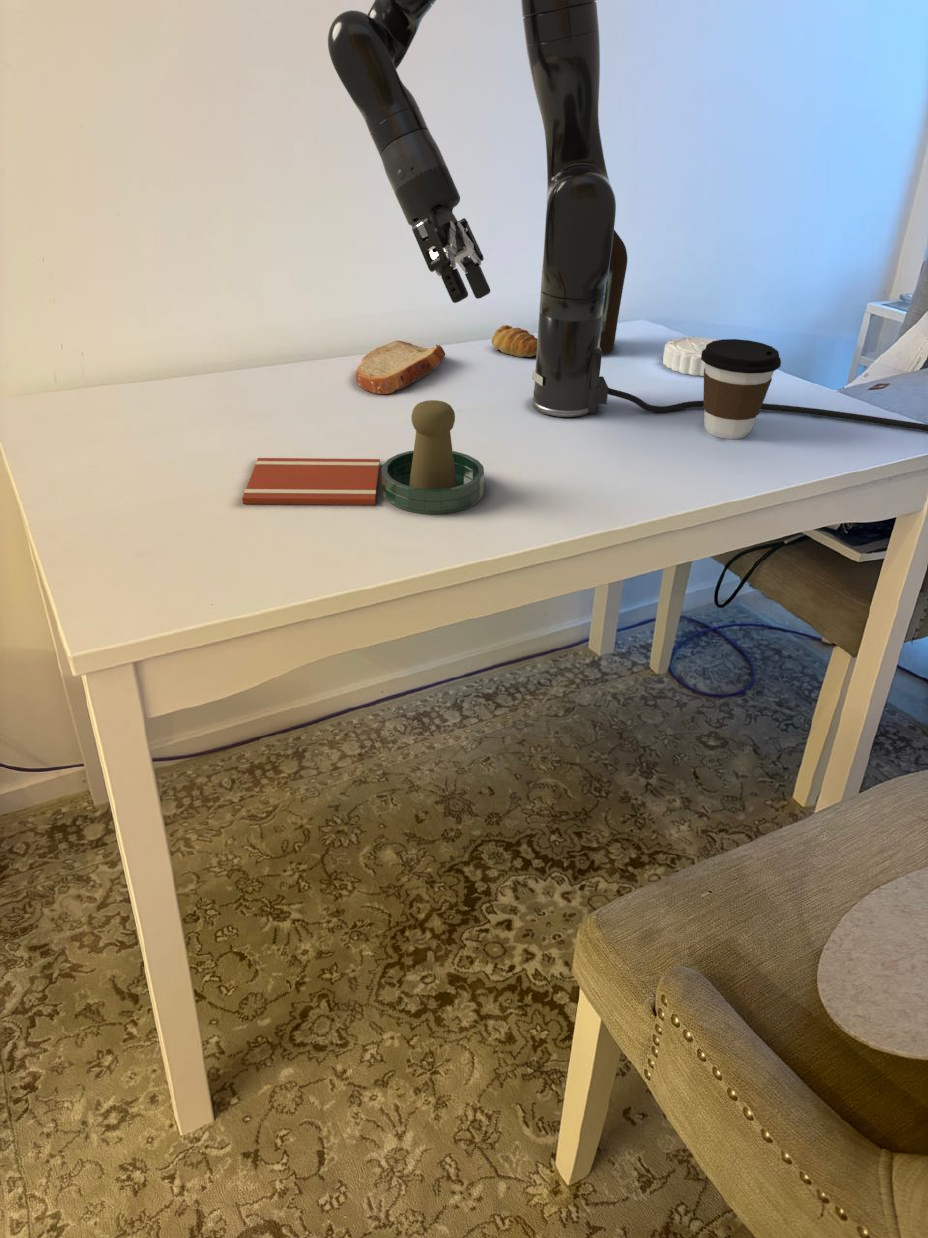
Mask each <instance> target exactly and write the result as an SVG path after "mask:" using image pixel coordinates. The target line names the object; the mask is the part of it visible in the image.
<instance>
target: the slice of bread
mask: <svg viewBox="0 0 928 1238" xmlns="http://www.w3.org/2000/svg"><path fill="white" fill-rule="evenodd" d="M445 357H446V352H445V350H444V348H443V347H442V346H441V344H435V346H433V347H423V346H418V345H416V344H412V343H411V342H408V341H407V342H406V341H403V340H394V341H391V342H389V343H386V344H385V345H381V346H378V347H376V348H375V349H373V350H371V351H370V352H369V353H367V354H365V355H364V356H363V357H362V359H361V363H360V365H358V366H357V368H356V374H355V382H356V383H357V385H358V386H359V388H361V389H362V390H364V391H365V392H369V393H372V394H377V395H389V394H393V393H394V392H396V391H399V390H401V389H405V388H407V387H408V386H410V385H412V384H413V383H414V382H417V381H418V380H420V379H422V378H423V377H425V376H426V375H428V374H429V373H431V372H432V371H433V370H435V369H436V368H437V367H438V366H439V365H440V363H441V362H442V360H444V358H445Z"/></svg>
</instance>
